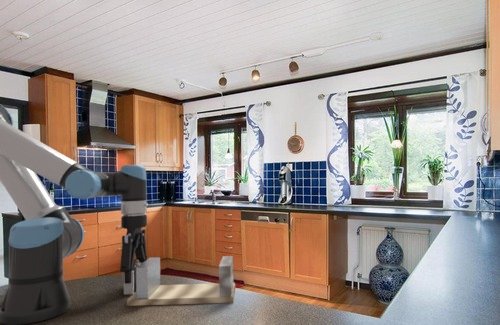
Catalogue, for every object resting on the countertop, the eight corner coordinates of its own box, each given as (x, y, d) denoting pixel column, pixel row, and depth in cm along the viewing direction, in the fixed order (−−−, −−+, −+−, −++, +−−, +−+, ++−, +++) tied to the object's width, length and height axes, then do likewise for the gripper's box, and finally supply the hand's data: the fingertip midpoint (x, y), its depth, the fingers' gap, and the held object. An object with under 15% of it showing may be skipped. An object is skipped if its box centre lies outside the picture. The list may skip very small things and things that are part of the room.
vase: (117, 291, 99) (117, 261, 99) (135, 284, 105) (135, 256, 105) (133, 294, 96) (133, 263, 96) (151, 287, 102) (150, 258, 102)
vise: (127, 305, 86) (126, 269, 87) (142, 290, 98) (141, 258, 99) (233, 302, 86) (232, 265, 87) (235, 287, 98) (234, 255, 99)
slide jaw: (136, 298, 86) (136, 267, 87) (150, 284, 98) (150, 257, 99) (147, 298, 86) (147, 267, 87) (160, 284, 98) (160, 257, 99)
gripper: (133, 217, 91) (134, 300, 89) (156, 211, 113) (157, 277, 111) (106, 218, 91) (107, 301, 89) (134, 211, 113) (135, 278, 111)
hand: (135, 288), depth 100 cm, fingers open, 9 cm apart
